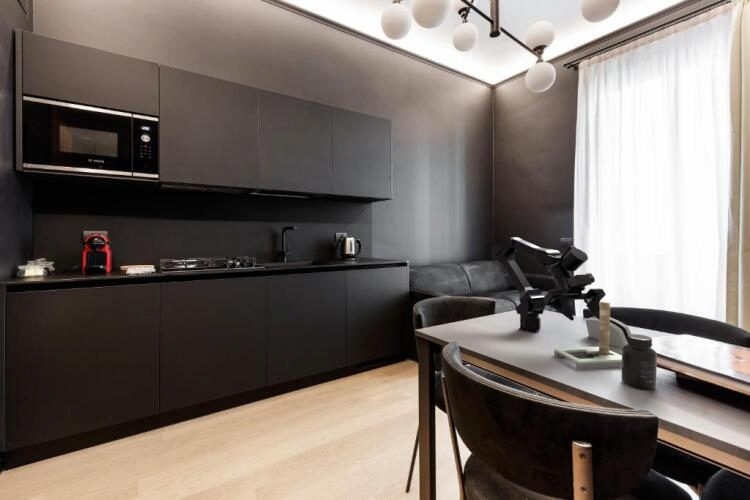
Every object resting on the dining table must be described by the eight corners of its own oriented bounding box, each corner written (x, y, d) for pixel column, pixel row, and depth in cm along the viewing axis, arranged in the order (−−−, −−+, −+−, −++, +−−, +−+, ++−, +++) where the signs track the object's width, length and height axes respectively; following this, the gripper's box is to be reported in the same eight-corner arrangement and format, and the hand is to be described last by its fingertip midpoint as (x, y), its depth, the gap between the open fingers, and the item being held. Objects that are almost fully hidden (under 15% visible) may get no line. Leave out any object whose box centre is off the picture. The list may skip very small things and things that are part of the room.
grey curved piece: (641, 350, 111) (632, 321, 110) (628, 355, 110) (619, 326, 109) (600, 335, 127) (592, 309, 126) (589, 340, 127) (581, 314, 126)
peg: (597, 362, 100) (598, 303, 100) (591, 356, 105) (592, 300, 104) (617, 363, 99) (618, 304, 98) (609, 357, 104) (610, 301, 103)
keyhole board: (579, 369, 95) (579, 361, 95) (554, 355, 106) (554, 348, 106) (630, 366, 97) (630, 359, 97) (600, 353, 108) (600, 346, 108)
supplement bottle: (614, 379, 88) (615, 333, 88) (639, 378, 89) (640, 332, 88) (637, 391, 82) (638, 341, 81) (664, 390, 82) (665, 340, 82)
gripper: (549, 265, 112) (571, 306, 102) (602, 264, 114) (629, 304, 104) (534, 285, 121) (554, 325, 110) (584, 284, 123) (608, 323, 112)
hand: (586, 319), depth 109 cm, fingers open, 9 cm apart
